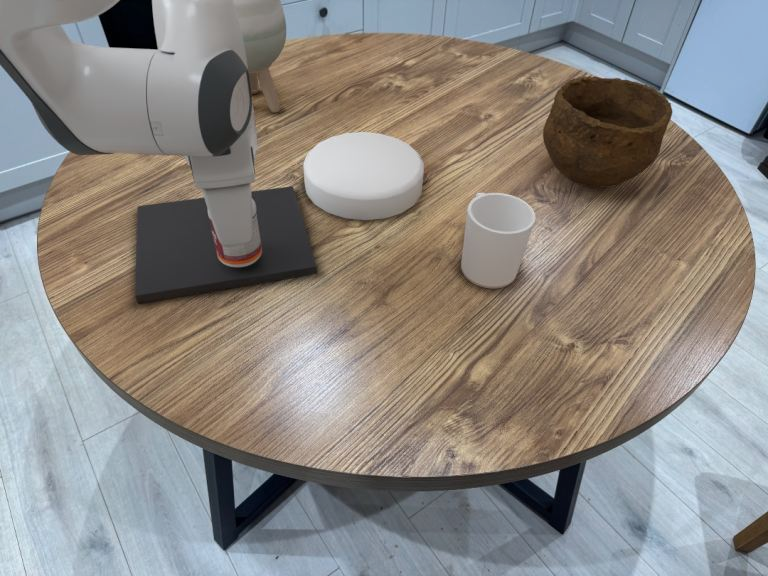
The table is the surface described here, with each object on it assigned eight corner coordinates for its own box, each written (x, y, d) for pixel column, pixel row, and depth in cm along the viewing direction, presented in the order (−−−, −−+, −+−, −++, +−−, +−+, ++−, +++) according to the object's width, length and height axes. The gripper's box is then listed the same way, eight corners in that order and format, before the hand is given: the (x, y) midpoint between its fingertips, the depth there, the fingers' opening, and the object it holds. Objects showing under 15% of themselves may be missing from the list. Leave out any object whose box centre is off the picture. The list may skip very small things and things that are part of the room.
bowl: (556, 213, 93) (582, 130, 82) (519, 152, 106) (538, 74, 95) (662, 206, 95) (701, 125, 85) (614, 147, 108) (642, 71, 98)
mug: (531, 283, 81) (548, 226, 73) (475, 297, 78) (487, 239, 71) (494, 236, 88) (506, 180, 81) (441, 248, 85) (449, 191, 78)
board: (137, 303, 75) (134, 295, 74) (139, 213, 89) (137, 205, 87) (317, 274, 80) (316, 266, 79) (293, 193, 94) (292, 185, 93)
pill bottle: (218, 241, 81) (204, 173, 73) (262, 238, 82) (252, 171, 74) (216, 271, 76) (200, 202, 69) (263, 267, 77) (252, 198, 69)
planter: (302, 117, 112) (293, -5, 96) (219, 130, 107) (196, 4, 92) (280, 83, 123) (269, -32, 107) (204, 93, 118) (181, -26, 102)
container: (433, 164, 102) (436, 140, 99) (406, 231, 88) (408, 206, 85) (327, 144, 105) (327, 121, 102) (286, 206, 91) (283, 181, 88)
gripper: (186, 96, 72) (205, 187, 82) (194, 186, 59) (216, 282, 68) (236, 92, 74) (250, 182, 84) (256, 178, 60) (269, 274, 70)
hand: (235, 228), depth 76 cm, fingers closed on pill bottle, 6 cm apart
